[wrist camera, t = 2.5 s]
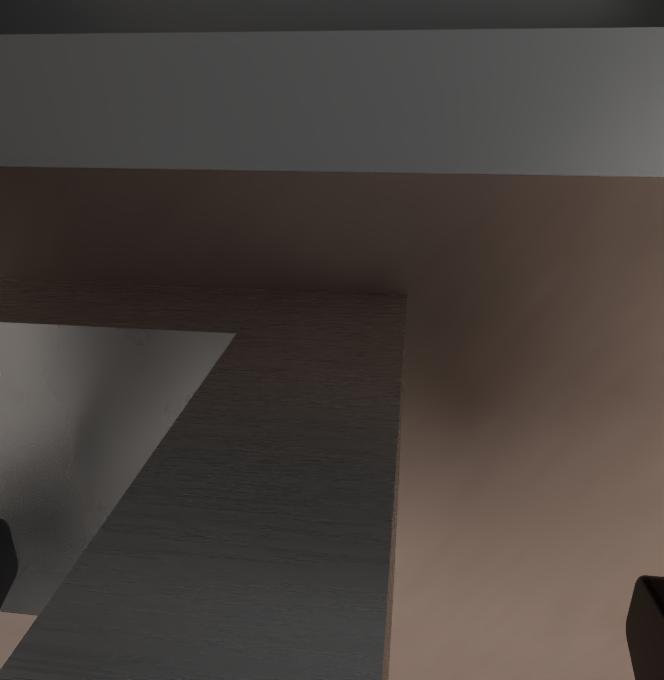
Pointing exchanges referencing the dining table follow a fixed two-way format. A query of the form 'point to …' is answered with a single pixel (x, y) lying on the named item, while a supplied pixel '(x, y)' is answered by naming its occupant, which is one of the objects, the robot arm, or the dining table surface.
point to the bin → (335, 85)
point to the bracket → (200, 480)
